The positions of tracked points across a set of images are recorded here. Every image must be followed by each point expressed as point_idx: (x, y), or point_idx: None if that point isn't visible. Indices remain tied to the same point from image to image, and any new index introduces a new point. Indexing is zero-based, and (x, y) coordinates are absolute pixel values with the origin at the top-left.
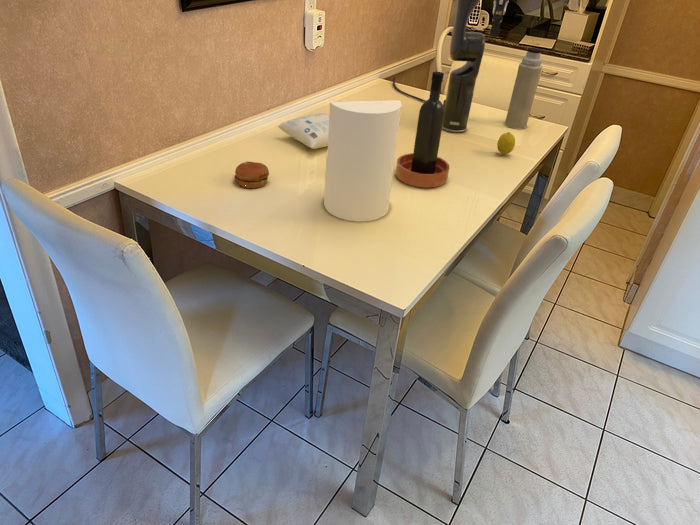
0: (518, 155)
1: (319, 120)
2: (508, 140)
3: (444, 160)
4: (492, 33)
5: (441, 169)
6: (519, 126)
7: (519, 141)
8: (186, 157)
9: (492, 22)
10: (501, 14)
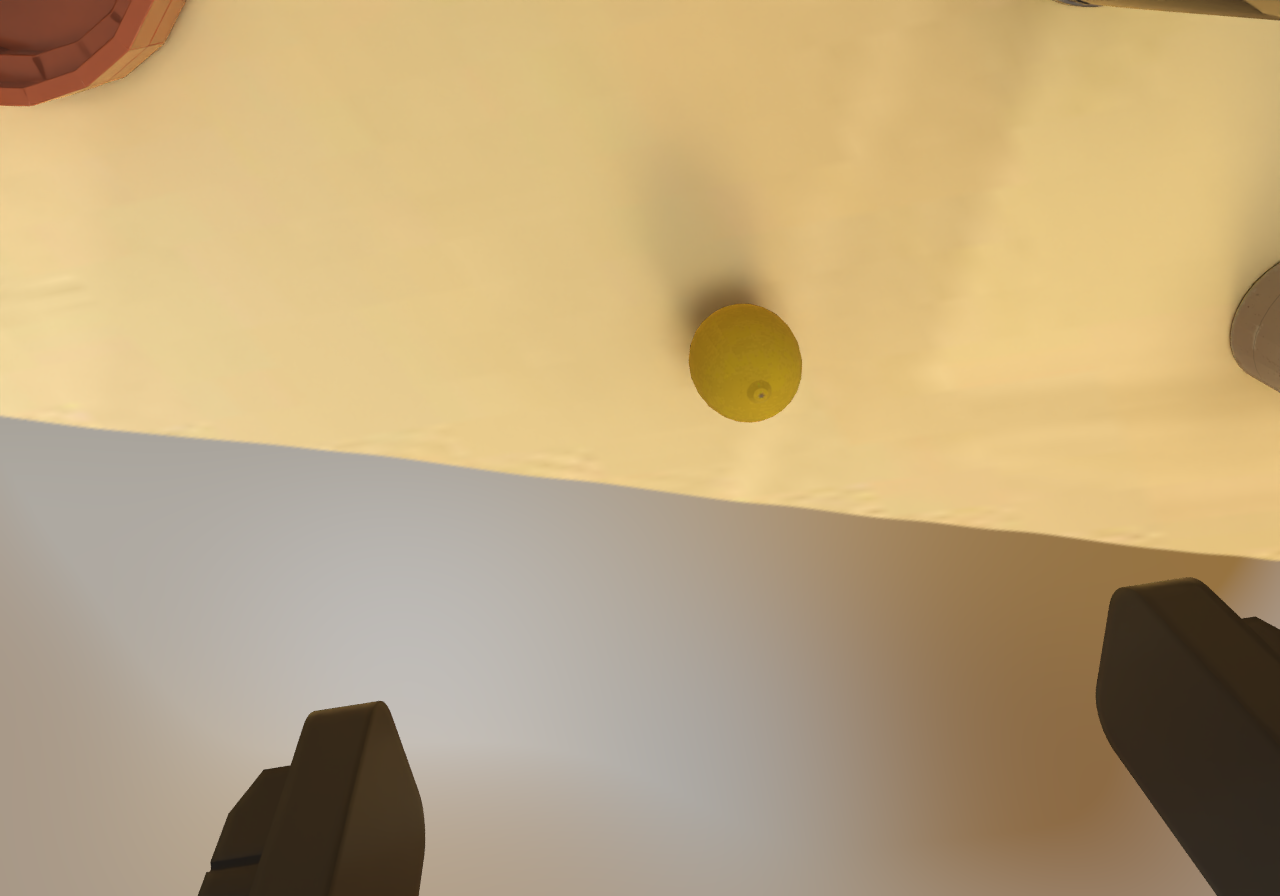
0: None
1: None
2: (706, 391)
3: (129, 36)
4: (258, 802)
5: (89, 32)
6: (1241, 352)
7: (1005, 381)
8: None
9: (1250, 720)
10: None
